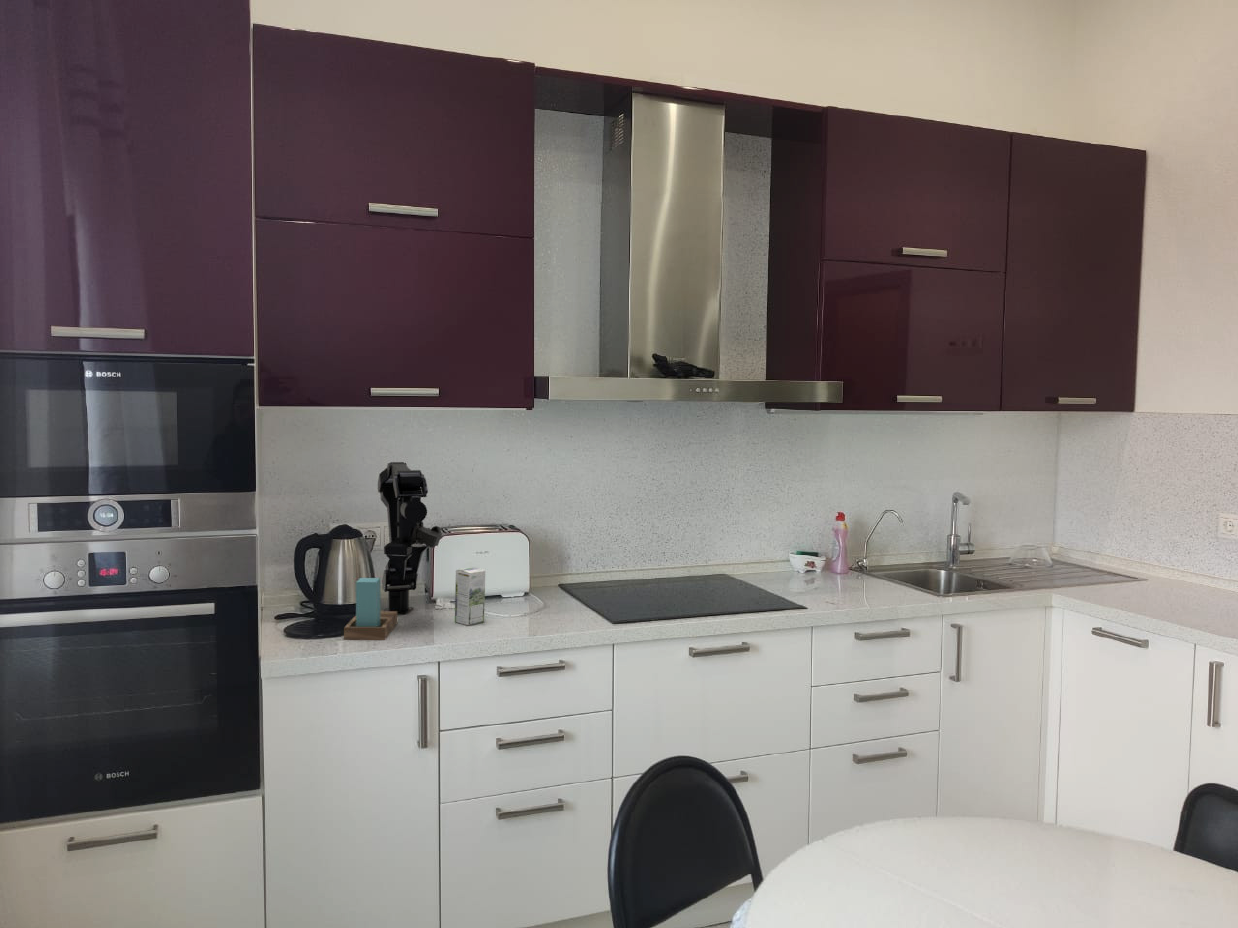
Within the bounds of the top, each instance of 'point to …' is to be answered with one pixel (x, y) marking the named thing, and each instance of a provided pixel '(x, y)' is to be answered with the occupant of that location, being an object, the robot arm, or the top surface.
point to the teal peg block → (368, 602)
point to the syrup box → (469, 596)
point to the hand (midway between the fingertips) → (408, 576)
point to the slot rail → (371, 628)
